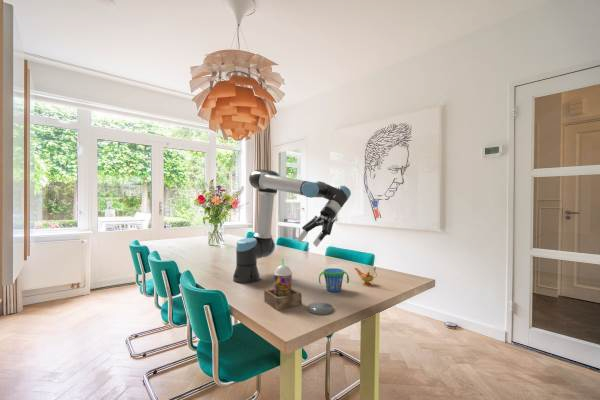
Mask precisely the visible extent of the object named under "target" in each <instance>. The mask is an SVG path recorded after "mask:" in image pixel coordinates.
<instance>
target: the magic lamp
mask: <svg viewBox="0 0 600 400" xmlns="http://www.w3.org/2000/svg"><path fill="white" fill-rule="evenodd" d="M354 270H355V271H356V273H357V275H358V276H359V278H360V279H361V280H362V281H364V282H363V283H362V285H363V286H366V287H369V286H372V283H371V282H373V281H374V279H375V278H376V277H378V276H377V274H378V273H377V272H376V270H377V267H376V266H375V267H373V271H374V272H373V273H372V275H371V273H370V271H367V272H366V273H363V272H362V271H361V270H360V269H359V268H357V267H355V268H354ZM374 275H375V276H374Z"/></svg>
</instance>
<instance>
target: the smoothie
mask: <svg viewBox="0 0 600 400" xmlns="http://www.w3.org/2000/svg"><path fill="white" fill-rule="evenodd" d="M284 260H285V259H284V258H281V264H280V265H278V266H276V268H275V270H274V272H273V283H274V285H273V286H274V287H273V288H275V295H276V296H277V297H282V296H286V295H290V294H291V288H292V280H293V279H292V277H293V272H292V270H291V268H290V266H288V265H286V264H285V263H284V262H285V261H284Z"/></svg>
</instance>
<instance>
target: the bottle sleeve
mask: <svg viewBox="0 0 600 400" xmlns="http://www.w3.org/2000/svg"><path fill="white" fill-rule="evenodd" d="M263 295H264V296H263V302H265V303H266V304H267V305H269V306H270V307H271V308H273V309H275V310H276V311H281V310H285V309H289V308H292V307H296V306H301V305H302V303H303V302H302V295H303V294H302V292H300V291H298V290H296V289H294V288H292V287H291V294H290V295H286V296H282V297H277V296H276V295H275V287H273V288H270V289H264V292H263Z"/></svg>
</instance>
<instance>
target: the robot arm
mask: <svg viewBox="0 0 600 400" xmlns="http://www.w3.org/2000/svg"><path fill="white" fill-rule="evenodd" d="M248 177H249V178H248V181H249V184H250V186H251V187H253V188H254V189H257V192H258V193H259V203H258V211H257V213H258V215H257V223H256V232H255V233H254V234H253V237H247V238H246V237H245V238H242V239H239V240H237V242H236V249H235V250H236V251H235V252H236V253H235V254H236V256H235V257H236V258H235V259H236V260H235V261H236V265H235V266H236V267H235V269H234V272H233V279H232V280H233V282H234V283H235V282H236V283H238V284H248V283H249V284H250V283H254V282H255V283H256V282H258V281H259V280H260V275H261V274H260V273H259V268H258V265H257V264H258V263H257V262H258V261H257V260H258V259H262V258H266V257H269V256H271V255H273V252H274V251H275V249H276V248H275V247H276V243H275V241H274V238H273V235H272V234H271V230H272V219H273V210H274V202H275V195H277V194H278V191H280V192H284V193H285V192H286V193H291V194H295V195H300V196H304V197H305V198H322V199H325V200H327V202H326V203H325V205H324V207H323V208H322V209H321V211H320V212H319V214H320V215H319V216H317V215H314V216H313V218H311V220H309V221H308V222H306V224H304V225H303V226H302V227H301V229H302V231H301V233H300V234H299V235H298V236H297V237H296V241H297V242H298V243H300V244H301V243H302V242H303V240H304V239H305V238H306V236H307V235H309V234H308V233H309V232H310V231H312V230H313V229H315V228H317V227H320V226H321V227H322V228H321V231H320V232H319V234H318V235H317V236H316V237H315V239H314V240H313V241H312V244H313V245H314V246H315V247H318V246H319V245H320V244H321V242H323V240H324V238H325V237H326V236H331V233H332V230H333V225H334V223H335V221H336V220H335V218H336V217H337V215H338V213H340V210H341V209H342V208H343V207H344V205H345V204H346V202H347V201H348V200H349V198H350V197H351V195H352V192H351V190H350V189H349V188H348V187H347V186H346V185H340V186H338V187H335V186H332V185H330V184H328V183H326V182H323V181H321V180H320V181H319V180H317V181H315V182H313V181H308V180H302V179H295V178H290V177H286V176H281V175H280V173H278V172H277V171H274V170H269V169H267V170H266V169H261V168H259V169H254V170H252V171H251V173H250V174H249V176H248Z"/></svg>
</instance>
